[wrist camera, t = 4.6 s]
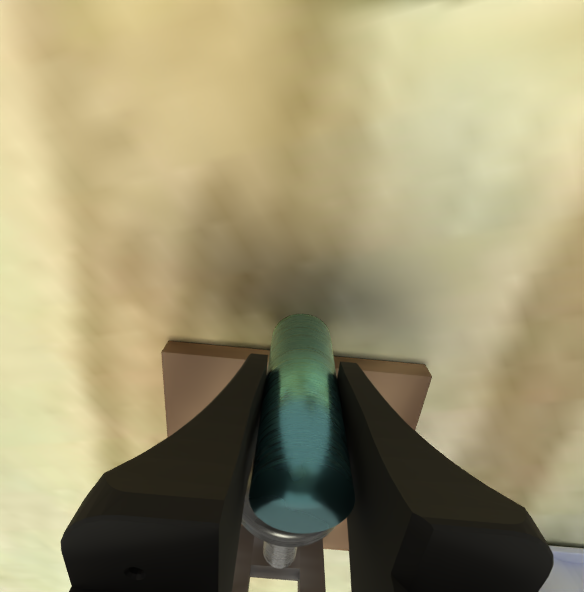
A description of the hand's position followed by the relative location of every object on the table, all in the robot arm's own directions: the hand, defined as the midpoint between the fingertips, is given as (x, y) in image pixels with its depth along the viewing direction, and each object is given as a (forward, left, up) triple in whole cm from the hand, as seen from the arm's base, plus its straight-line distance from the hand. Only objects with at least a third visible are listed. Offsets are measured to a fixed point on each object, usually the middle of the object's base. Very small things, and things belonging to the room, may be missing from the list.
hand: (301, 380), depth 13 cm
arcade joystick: (0, +4, -3) cm, 5 cm away
